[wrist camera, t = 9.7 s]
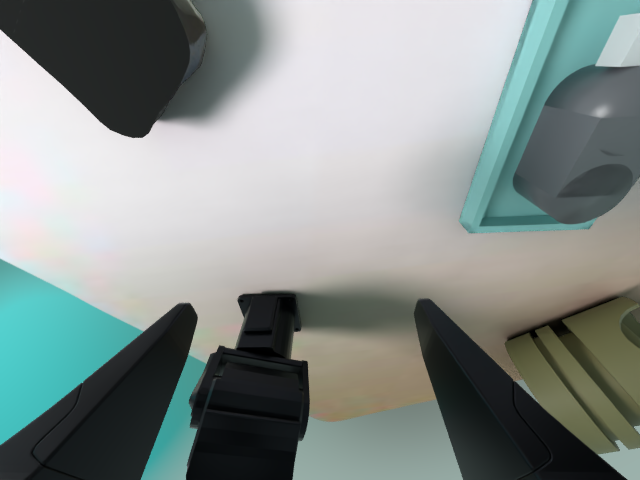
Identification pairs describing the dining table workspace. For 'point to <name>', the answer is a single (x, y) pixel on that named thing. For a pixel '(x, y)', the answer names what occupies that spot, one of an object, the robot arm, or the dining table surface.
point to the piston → (588, 374)
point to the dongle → (588, 135)
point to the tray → (535, 107)
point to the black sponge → (112, 52)
